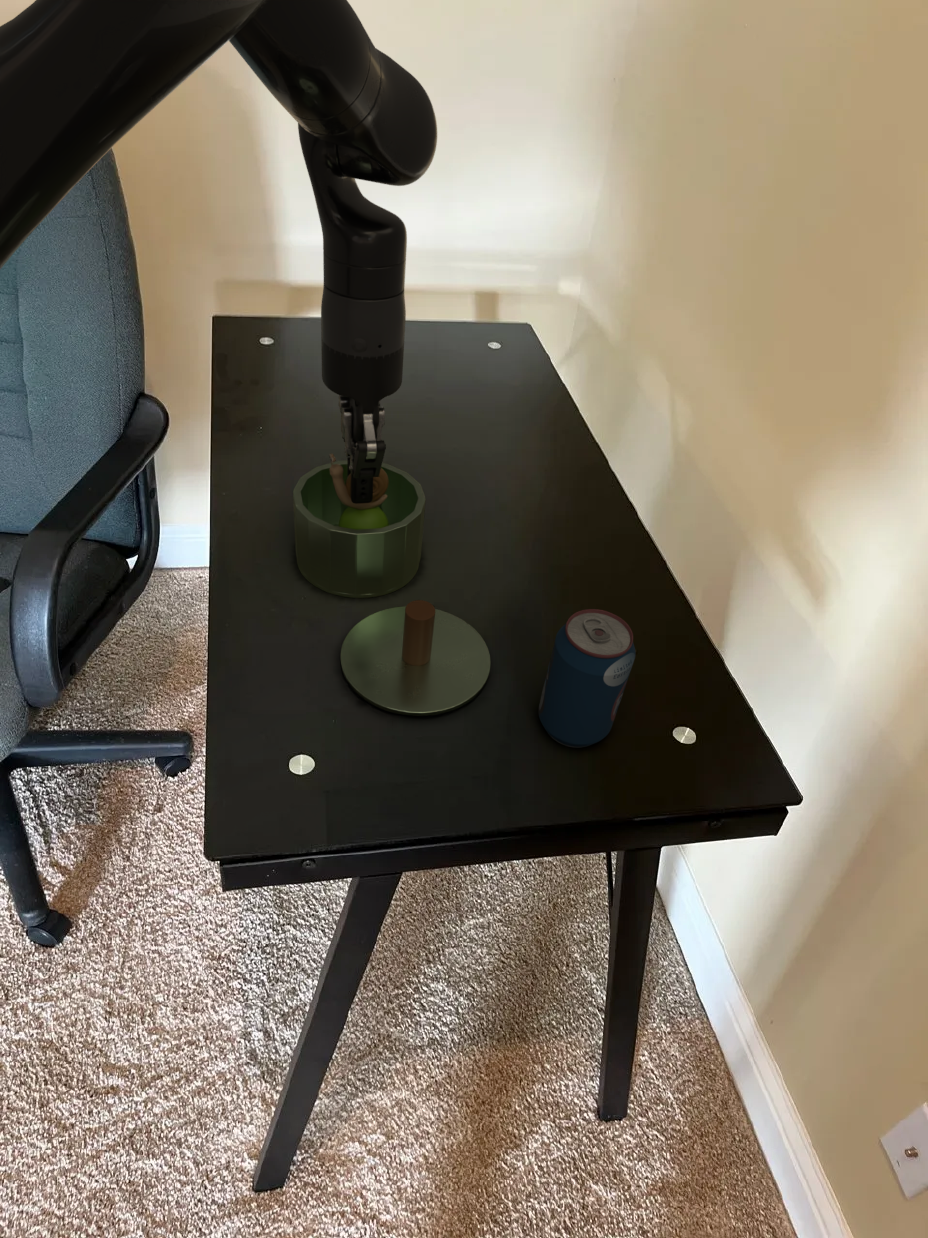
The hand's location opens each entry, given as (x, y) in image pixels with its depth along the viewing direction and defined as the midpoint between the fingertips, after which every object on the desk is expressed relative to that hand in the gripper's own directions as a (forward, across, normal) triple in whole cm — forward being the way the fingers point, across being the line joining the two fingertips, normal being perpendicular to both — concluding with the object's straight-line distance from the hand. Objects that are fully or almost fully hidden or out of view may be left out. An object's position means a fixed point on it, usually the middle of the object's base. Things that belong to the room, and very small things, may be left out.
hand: (359, 494), depth 86 cm
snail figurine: (+7, 0, 0) cm, 7 cm away
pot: (+9, 0, 0) cm, 9 cm away
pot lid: (+8, -17, -3) cm, 19 cm away
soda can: (+9, -27, -16) cm, 33 cm away
